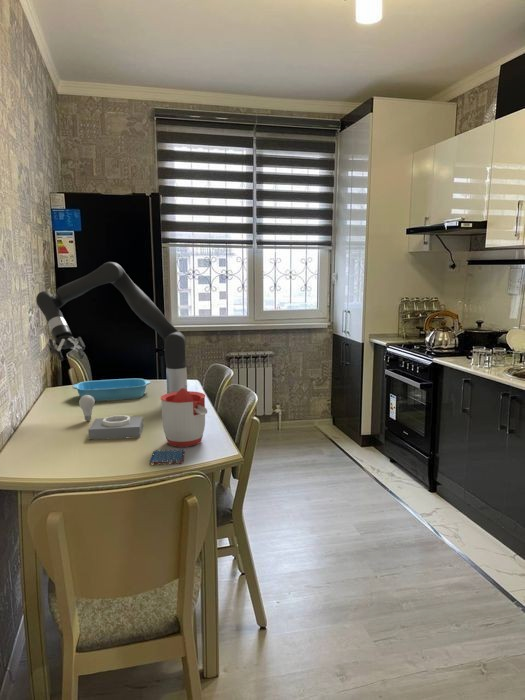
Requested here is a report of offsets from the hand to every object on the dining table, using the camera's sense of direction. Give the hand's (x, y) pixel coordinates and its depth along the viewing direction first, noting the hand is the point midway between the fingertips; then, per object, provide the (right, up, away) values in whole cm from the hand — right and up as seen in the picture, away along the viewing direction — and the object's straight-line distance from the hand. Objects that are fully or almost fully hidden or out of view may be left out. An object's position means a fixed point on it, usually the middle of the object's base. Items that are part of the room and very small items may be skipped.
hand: (72, 358), depth 207 cm
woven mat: (+49, -33, -47) cm, 76 cm away
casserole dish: (+6, -20, +37) cm, 43 cm away
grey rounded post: (+8, -26, -4) cm, 28 cm away
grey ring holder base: (+25, -28, -20) cm, 42 cm away
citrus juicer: (+53, -30, -32) cm, 68 cm away
